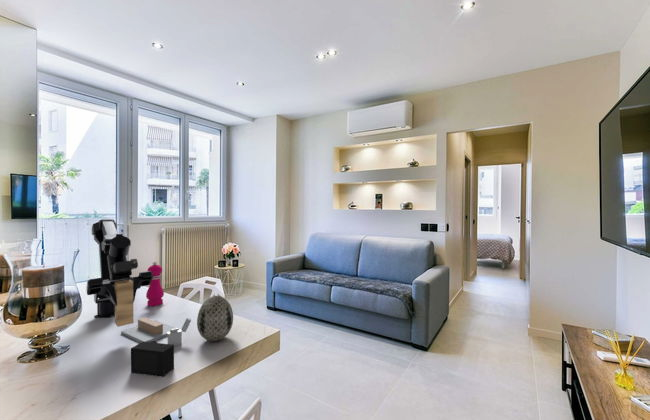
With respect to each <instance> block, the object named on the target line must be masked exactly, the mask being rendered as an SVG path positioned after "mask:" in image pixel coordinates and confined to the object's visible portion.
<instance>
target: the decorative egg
mask: <svg viewBox="0 0 650 420" xmlns="http://www.w3.org/2000/svg"><path fill="white" fill-rule="evenodd" d="M233 324H234V313H233V308H232V306H231V304H230V303H229V301H228V299H226V298H224V297H223V296H222V295H221V296H220V295H214V296H210V297H209V298H207V299H206V300H205V301H204V302H203V303H202V305H201V306H200V308H199V310H198V314H197V319H196V326H197V330H198V331H197V332H198V333H199V334H200V336H201V337H202V338H203V339H204V340H206V341H208V342H217V341H220V340H223V339H224V338H225V337H226V336H228V334H230V332H231V329H232V328H233Z"/></svg>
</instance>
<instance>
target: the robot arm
mask: <svg viewBox="0 0 650 420" xmlns="http://www.w3.org/2000/svg"><path fill="white" fill-rule="evenodd" d="M91 235H92V236H93V241H95V242H96V243H97V245H98V253H99V255H98V256H99V268H100V270H99V271H100V277H97V278H89V279H88V280H87V282H86V291H85V292H86V295H87V296H92V295H93V297H94V298H93V302H94V303H95V304H97V305H96V306H97V307H96V308H97V314H95V315H94V316H93V317H94V318H111V317H113V316H115V306H117V300H116V296H115V282H117V281H124V280H131V281H133V303H135V299H136V296H137V295H136V294H137V290H138V289H141V287H145V286H150V284H151V281H152V279H153V273H152V272H151V271H148V270H147V271H142V272H141V271H140V272H139V273H138V276H133V277H132V274H133V273H132V271H133V270H135V269H137V268H139V263H138V262H139V261H138V259H137V258H132V259H130V260H128V258H127V256H128V254H129V251H130V247H131V243H132V241H131V239H130V238H129V237H127V236H124V235H123V233H119V232H118V226H117V222H116V221H115V219H112V218H104V219H103V218H102V219H99V220H98V221H97V222H94V223H93V224H92V226H91Z"/></svg>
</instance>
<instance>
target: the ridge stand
mask: <svg viewBox="0 0 650 420" xmlns="http://www.w3.org/2000/svg"><path fill="white" fill-rule="evenodd" d="M174 328H176V327H175V326H171V325H170V324H167V323H164V322H161V321H158V320H156V319H150V318H147V317H141V318H139V319H137V325H136V326H132V327H129V328H127V329H123V330H121V331H120V334H121V335H122V336H125V337H127V338H129V339H131V340H134V341H136V342H138V343H141V342H150V341H156V342H157V341H158V340H160V339H163V338H166V337H167V332H170V330H171V329H174ZM178 330H180V329H179V328H178Z"/></svg>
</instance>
